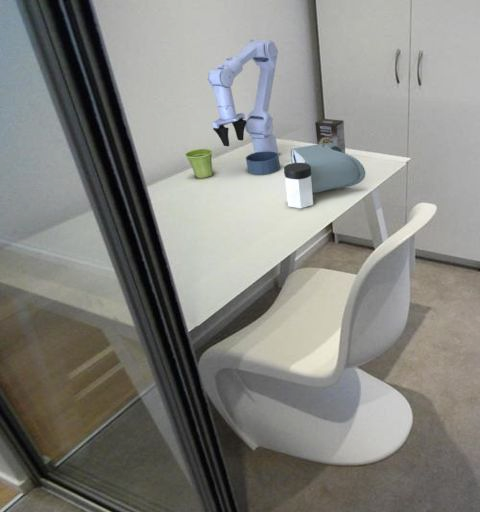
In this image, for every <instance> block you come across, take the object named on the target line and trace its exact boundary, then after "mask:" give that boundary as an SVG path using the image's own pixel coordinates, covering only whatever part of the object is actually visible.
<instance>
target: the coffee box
mask: <svg viewBox="0 0 480 512" xmlns="http://www.w3.org/2000/svg"><path fill="white" fill-rule="evenodd" d="M344 123H345V121H344V119H343V120H342V119H341V120H340V119H332V118H331V119H330V118H321V119H319V120H317V121H315V122H314V124H315V133H316V145H318V144H324V143H327V144H328V143H334V144H336V145H337V146H338V147H339V149H340V150H341V152H342V153H345V154H346V139H345V124H344Z"/></svg>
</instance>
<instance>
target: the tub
mask: <svg viewBox="0 0 480 512" xmlns="http://www.w3.org/2000/svg"><path fill="white" fill-rule="evenodd" d="M278 153H279V152H278ZM278 153H275V152H271V151H263V152H256V153H254V152H252V153H250V154H248V155H246V156H245V161H246V166H247V167H246V168H247V171H248V174H251V175H256V176H258V175H259V176H262V175H263V176H264V175H270V174H273V173H274V174H275V173H276V172H278V171H280V169H281V163H280V157H279V156H280V155H278Z"/></svg>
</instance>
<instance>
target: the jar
mask: <svg viewBox="0 0 480 512" xmlns="http://www.w3.org/2000/svg"><path fill="white" fill-rule="evenodd" d="M283 174H284V181H285V191H286V199H287V206H288V207H291V208H296V209H304V208H307V207H310V206H314V196H313V195H314V193H313V194H312V181H311V166H310V165H309V164H306V163H292V162H291V163H288V164H286V165H284V166H283Z"/></svg>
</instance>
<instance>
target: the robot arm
mask: <svg viewBox="0 0 480 512" xmlns="http://www.w3.org/2000/svg"><path fill="white" fill-rule="evenodd" d="M278 53H279V50H278V47H277V45H276V43H275V42H274V41H273V40H272V39H268V40H261V39H259V40H256V39H250V40H248V42H246V43H245V47H244V48H243V49H242V50H241V51H239V53H238V54H237V55H236V56H227V57H226V58H225V59H226V60H225V61H224V62H222V63H220V64H219V65H218V67H217V68H211V70H210V71H208V74H207V76H208V77H207V82H208V84H209V85H210V86H211V88H212V91H213V93H214V95H215V101H216V105H217V110H218V114H219V115H218V116H219V118H218V119H216V120H215V121H212V122H211V124H212V130H213V131H214V132H215V133H216V134H217V135H218V137H219V139H220V141H221V143H222V145H223V147H230V138H229V127H226V126H227V125H230V124H231V125H232V126H233V128H234V132H235V135H236V138H237V140H238V141H244V135H245V134H244V133H245V132H246V133H247V134H249V137H251V141H252V142H251V143H252V148H253V153H256V152H263V151H271V152H275V153H278V156H280V154H281V153H280V152H279V149H278V144H277V138H276V136H275V135H274V134H273V131H274V124H273V121H274V117H272V115H271V114H270V113H269V109H270V103H271V97H272V90H273V85H274V78H275V72H276V64H277V60H278ZM251 60H253V62H254V64H255V65H256V66H258V67H259V69H260V70H259V75H258V82H257V89H256V95H255V101H254V107H253V109H252V110H251V111H249V113H248V114H247V118H246V117H245V113H243V112H240V113H237V111H236V105H235V100H234V96H233V91H232V86H233V83H234V80H235V78H236V77H237V76H239V74H240V73H242V72H243V70H244V67H243V66H244V65H246V64H247V63H249V62H250V61H251Z"/></svg>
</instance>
